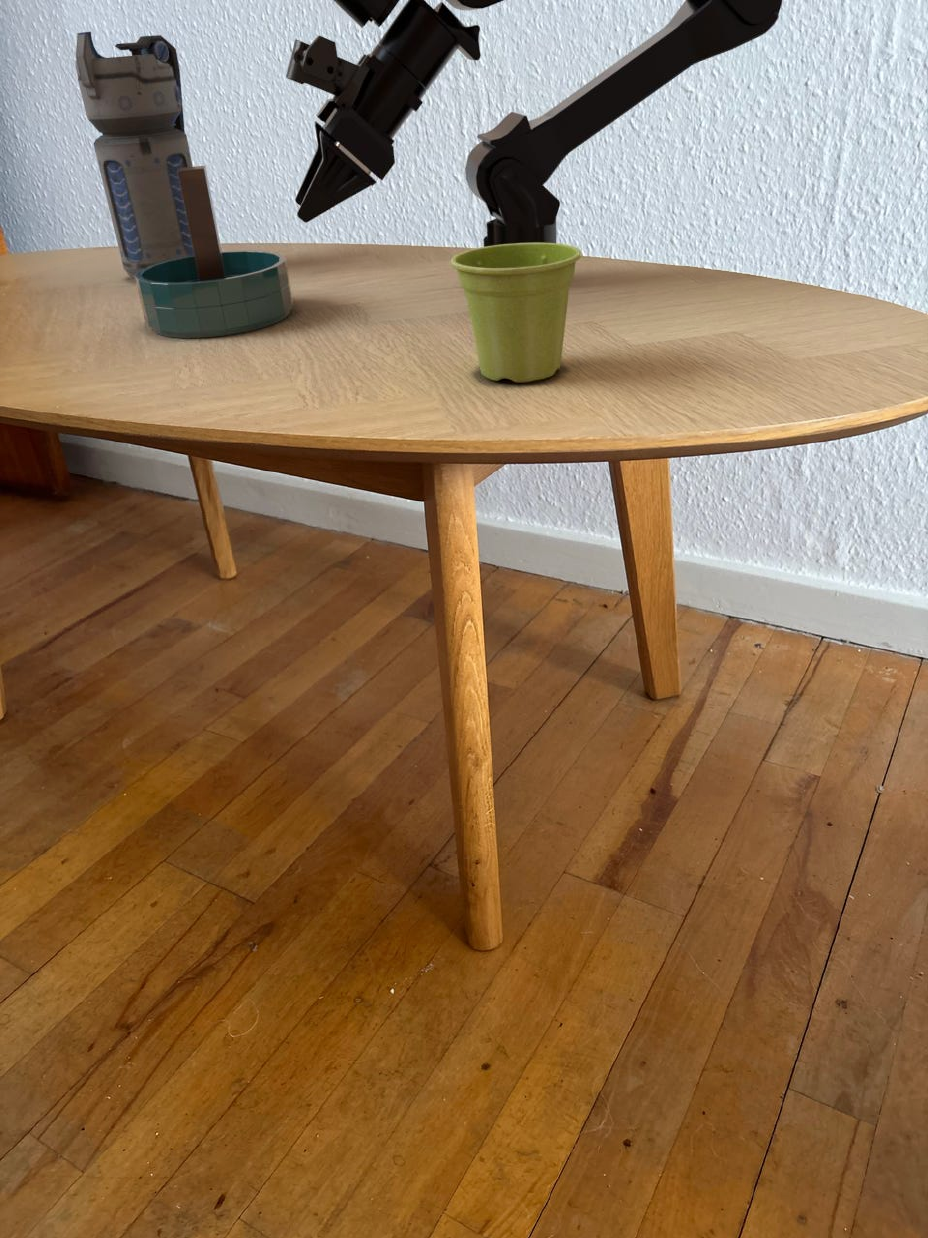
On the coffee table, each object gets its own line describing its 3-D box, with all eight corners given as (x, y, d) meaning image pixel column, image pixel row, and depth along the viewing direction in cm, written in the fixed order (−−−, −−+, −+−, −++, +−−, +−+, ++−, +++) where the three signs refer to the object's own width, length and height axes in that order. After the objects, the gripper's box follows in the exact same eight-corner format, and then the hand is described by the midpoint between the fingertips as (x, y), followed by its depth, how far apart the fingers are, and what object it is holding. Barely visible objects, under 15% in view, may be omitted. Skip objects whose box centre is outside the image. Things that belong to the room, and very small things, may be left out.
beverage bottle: (243, 262, 118) (200, 24, 105) (166, 287, 109) (108, 29, 95) (182, 259, 123) (134, 30, 110) (103, 283, 113) (40, 35, 100)
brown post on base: (246, 303, 97) (220, 162, 90) (245, 315, 93) (217, 168, 86) (196, 309, 96) (166, 167, 89) (192, 321, 92) (160, 173, 85)
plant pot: (441, 367, 76) (431, 253, 72) (546, 346, 79) (543, 235, 75) (490, 400, 69) (483, 275, 64) (604, 376, 72) (605, 254, 67)
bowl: (321, 304, 97) (314, 252, 94) (230, 344, 87) (219, 286, 84) (214, 296, 103) (204, 247, 100) (116, 333, 93) (103, 279, 90)
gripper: (325, 1, 91) (231, 141, 96) (336, -7, 75) (222, 162, 80) (415, 88, 96) (322, 218, 100) (443, 98, 80) (330, 251, 85)
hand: (299, 211), depth 91 cm, fingers open, 9 cm apart
